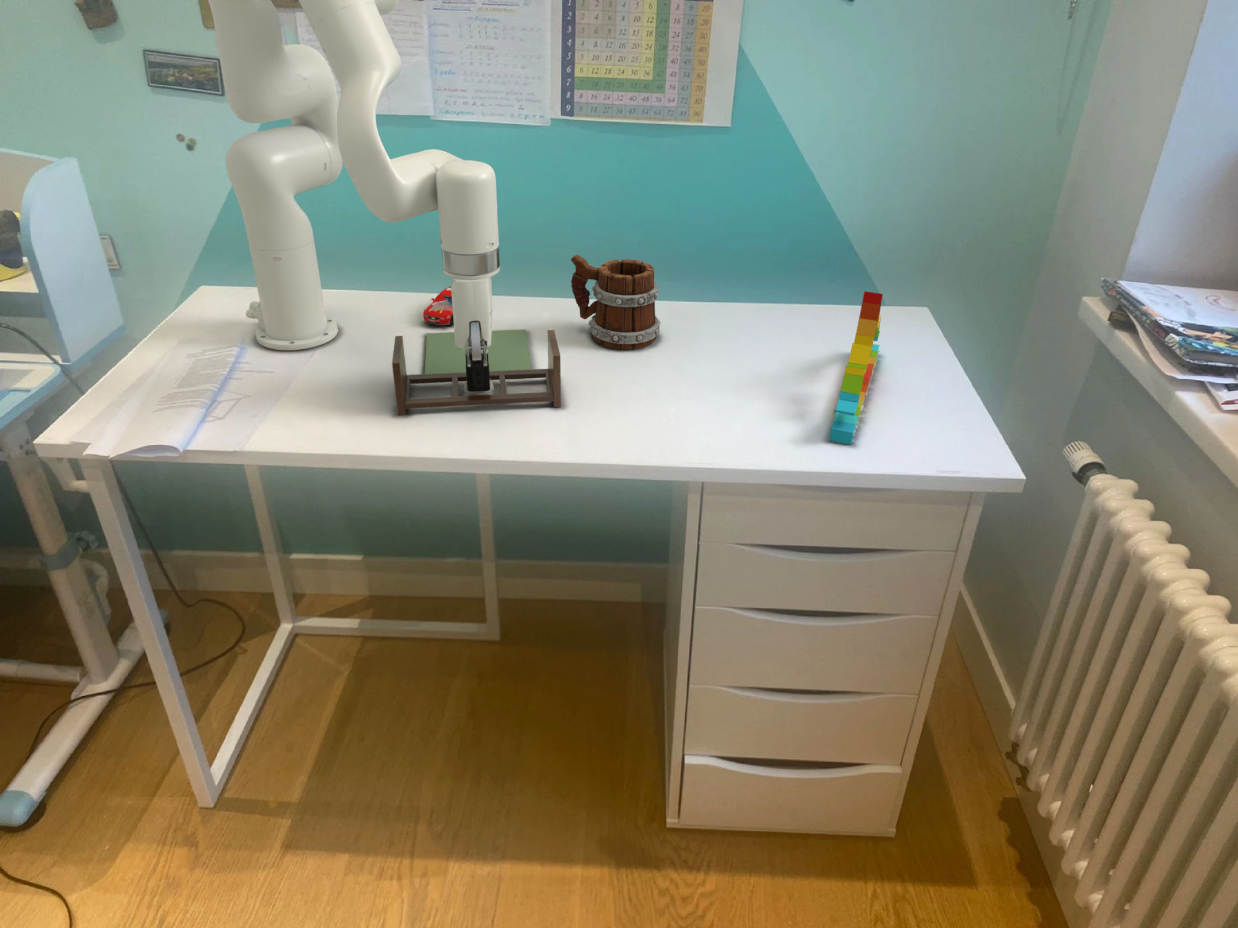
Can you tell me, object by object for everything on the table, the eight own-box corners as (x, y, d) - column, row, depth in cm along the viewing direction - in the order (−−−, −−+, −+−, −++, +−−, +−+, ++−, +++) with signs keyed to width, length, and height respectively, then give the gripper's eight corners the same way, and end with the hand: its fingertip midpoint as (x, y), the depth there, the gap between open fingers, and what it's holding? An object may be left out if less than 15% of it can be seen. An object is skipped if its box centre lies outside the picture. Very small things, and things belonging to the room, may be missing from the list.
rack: (400, 386, 134) (395, 335, 130) (554, 379, 138) (554, 329, 133) (397, 415, 127) (391, 363, 123) (561, 407, 130) (560, 355, 126)
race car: (447, 331, 152) (445, 308, 150) (418, 326, 153) (416, 303, 151) (483, 303, 162) (482, 281, 160) (455, 298, 164) (454, 277, 162)
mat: (427, 335, 150) (426, 333, 150) (525, 331, 152) (525, 329, 152) (424, 379, 137) (424, 376, 136) (532, 374, 139) (532, 371, 139)
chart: (852, 445, 123) (871, 342, 115) (828, 440, 124) (845, 338, 116) (879, 356, 147) (896, 266, 140) (858, 353, 148) (874, 263, 140)
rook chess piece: (500, 392, 134) (497, 341, 129) (486, 405, 130) (483, 354, 126) (472, 387, 135) (469, 336, 130) (458, 400, 131) (454, 349, 127)
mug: (656, 355, 145) (644, 263, 138) (571, 357, 149) (555, 268, 142) (672, 327, 155) (661, 239, 147) (592, 330, 159) (578, 245, 152)
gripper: (442, 240, 128) (451, 359, 138) (441, 282, 114) (451, 412, 124) (496, 239, 129) (502, 357, 139) (502, 281, 115) (507, 409, 125)
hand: (478, 382), depth 131 cm, fingers closed on rook chess piece, 3 cm apart
